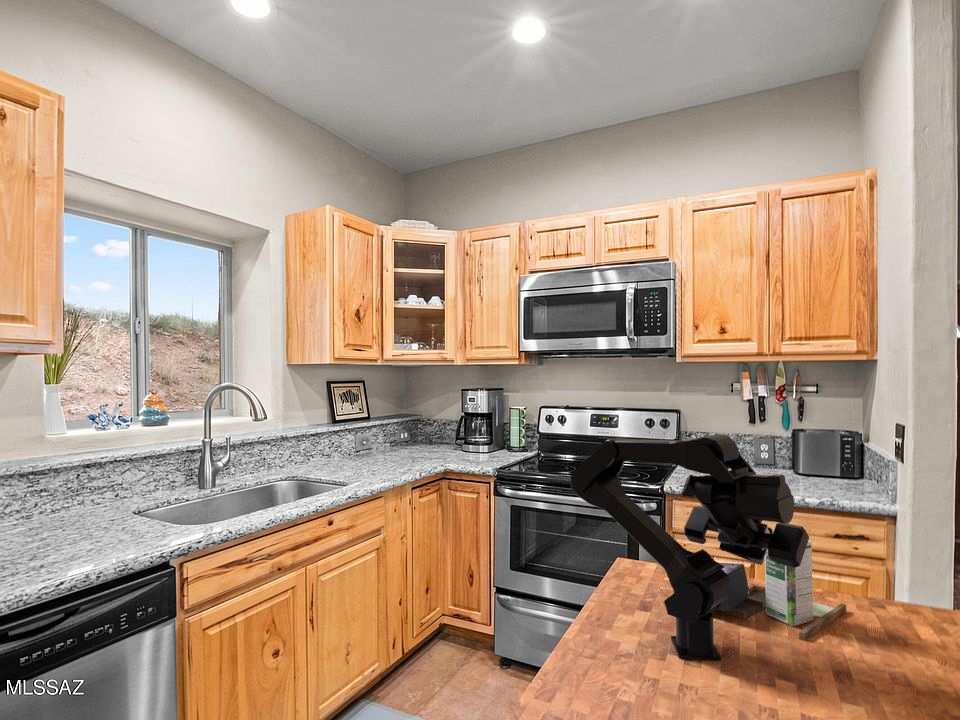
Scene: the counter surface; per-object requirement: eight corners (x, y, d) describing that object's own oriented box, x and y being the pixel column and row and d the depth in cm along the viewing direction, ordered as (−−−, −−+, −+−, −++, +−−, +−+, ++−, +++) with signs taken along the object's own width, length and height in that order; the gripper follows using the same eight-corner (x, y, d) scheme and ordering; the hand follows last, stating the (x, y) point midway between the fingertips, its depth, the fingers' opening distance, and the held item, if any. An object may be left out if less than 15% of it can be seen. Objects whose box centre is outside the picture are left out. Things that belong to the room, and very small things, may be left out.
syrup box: (764, 614, 101) (762, 536, 102) (786, 608, 104) (784, 532, 104) (792, 627, 96) (790, 544, 97) (815, 621, 99) (812, 540, 99)
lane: (804, 640, 91) (804, 633, 92) (714, 608, 104) (714, 602, 104) (846, 611, 102) (846, 604, 102) (760, 585, 115) (759, 579, 115)
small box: (693, 558, 114) (745, 562, 106) (699, 591, 113) (751, 597, 105) (669, 570, 106) (723, 575, 99) (675, 605, 105) (729, 613, 98)
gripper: (801, 475, 84) (833, 534, 90) (691, 461, 98) (725, 513, 105) (779, 537, 79) (814, 595, 85) (666, 512, 93) (703, 563, 100)
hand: (760, 562), depth 94 cm, fingers closed
